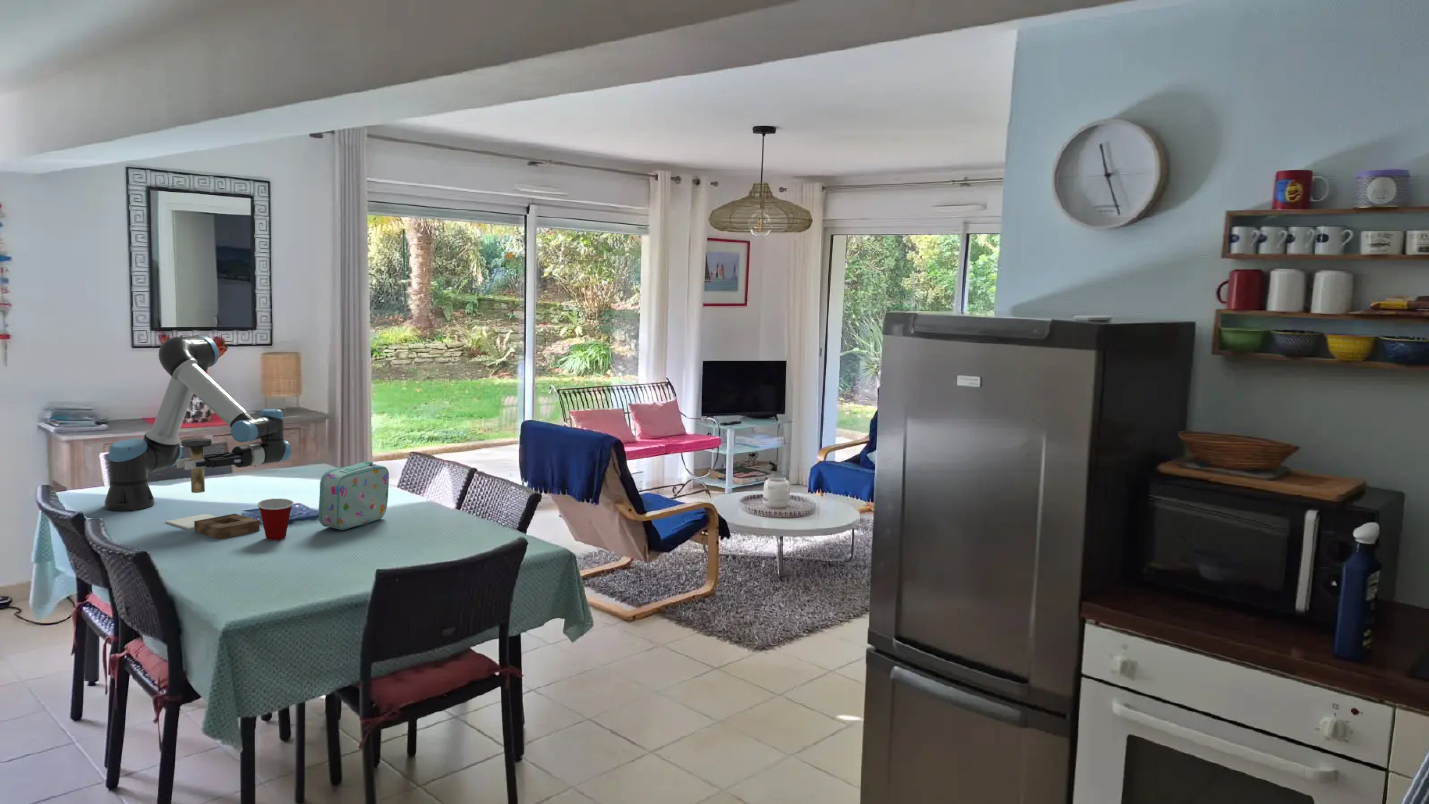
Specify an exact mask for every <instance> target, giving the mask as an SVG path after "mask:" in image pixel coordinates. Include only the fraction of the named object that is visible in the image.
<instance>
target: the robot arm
mask: <svg viewBox="0 0 1429 804" xmlns="http://www.w3.org/2000/svg"><path fill="white" fill-rule="evenodd" d="M219 357H220V351H219V348H218V346H217V344H216V342H215V341H214V340H213V339H212V338H210V337H208V336H205V335H190V336H189V335H188V336H173V337H171V338H168V339H166V340H165V341H164V342H162V344H161V345H160V347H159V350H158V359H159V363H160V364H161V366H162V368H163V369H164V370H165V372H166V373H167V374H168V375H170V380H169V383H168V385H167V387H166V390H165V393H164V395H163V398H162V400H161V404H160V407H159V409H158V411H157V414H156V417H155V420H154V423H153V425H152V428H150V429H148V430H146V431H145V433H144V436H143V438H142V439H141V438H130V439H123V440H119V441H116V442H114V443H112V444H111V445H110V446H109V448H108V457H107V459H108V469H109V473H108V474H109V488H108V491H107V494H106V496H105V499H104V509H105V510H107V511H108V510H109V511H117V512H118V511H119V512H124V511H125V512H126V511H137V510H143V509H148V508H151V507H153V506H155V498H154V496H153V493H152V490H151V488H150V485H149V477H148V474H150V473H154V472H158V471H163V470H166V469H169V468H171V467H173V466H175V465H176V468H177V469H180V468H184V470H185V471H189V470H191V469H196V468H203V467H204V468H212V469H213V468H219V467H226V466H227V467H228V466H232V465H233V466H235V467H236V468H247V467H249V466H251V467H252V466H253V467H255V468H256V467H257V465H265V464H273V463H279V462H284V461H288V460H289V458H291V456H292V448H291V444H290V443H289V442H288V441H287V440H285V439H284V421H285V420H284V413H283V410H281V409H279V408H264V409H261V410H260V412H259V414H260V415H259V417H254V416H252V414H250V413H249V412H248V411H247V410H245V409H244V408H243V407H242V406H241V405H240V404H239V402H238V401H236V400H235V399H234V398H233V397H232V396H230V394H228V392H226V391H225V390H224V388H222V387H221V386H220V384H218V383H217V382H216V381H215V380H214V379H213V378H212V377H211V376H209V375H208V374H207V372H208V369H209V368H211V367H213V366H214V365H215V364H217V362H218V360H219ZM194 395H196V397H197V398H198V399H199V400H201V401H202V403H204V404H205V405H206V406H207V407H208V408H209V409H210V410H211V411H212V412H213V413H214V414H215V415H217V416H218V418H220V420H222V421H223V422H224V423H225V424H226V425H227V426H228V427H230V434H231V436H232V439H233V440H234V441H236V442H238V443H248V442H249V443H250V442H252V441H256V440H259V439H260V442H259V443H252V444H245V445H238V446H234V447H233V448H232V451H231V452H230V451H224V452H221V451H217V452H214V453H207V454H206V453H205V454H204V459H200V460H193V461H191V460H190V457H189V458H188V457H187V458H182V455H183V448H181V446H182V443H181V439H180V437H179V436H178V435H179V432H180V430H181V427H182V425H183V422H184V419H185V418H186V417H185V416H186V414H187V412H188V409H189V406H190V404H191V400H192V399H193V396H194ZM181 458H182V459H181Z"/></svg>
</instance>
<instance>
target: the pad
mask: <svg viewBox="0 0 1429 804" xmlns="http://www.w3.org/2000/svg"><path fill="white" fill-rule="evenodd" d="M214 517H217V516H215V515H212V514H209V513H204V514H198V515H192V516H187V517H181V518H174V519H171V520H165V524H169V525H172V526H175V527H178V528H180V529H181V528H182V529H184V530H188V531H191V530H194V521H198V520H203V519H209V518H214Z"/></svg>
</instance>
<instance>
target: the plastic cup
mask: <svg viewBox="0 0 1429 804" xmlns="http://www.w3.org/2000/svg"><path fill="white" fill-rule="evenodd" d="M256 506H257V507H258V508H259V512H260V516H261V521H262V526H263V529H264V534H265V537H266V540H267V541H268V540H269V541H281V540H284V539H286V536H287V531H288V527H289V521H290V515H291V512H292V511H291V510H292V507H293V506H294V501H293V500H291V499H288V498H268V499H264V500H260V501H259V502H258V503H257V504H256Z"/></svg>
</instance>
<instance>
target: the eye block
mask: <svg viewBox="0 0 1429 804" xmlns="http://www.w3.org/2000/svg"><path fill="white" fill-rule="evenodd" d="M260 526H261V525H260V520H259V519H256V518H253V517H248V516H245V515H241V514H237V513H232V514H225V515H221V516H216V517H214V518H209V519H203V520H198V521H194V529H193V530H194V532H195V533H197V534H201V535H205V536H208V537H211V538H214V539H218V540H221V539H227V538H231V537H236V536H240V535H246V534H250V533H254V532H259V531H261V530H260Z"/></svg>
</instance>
